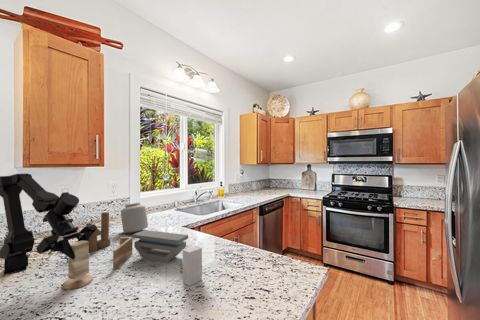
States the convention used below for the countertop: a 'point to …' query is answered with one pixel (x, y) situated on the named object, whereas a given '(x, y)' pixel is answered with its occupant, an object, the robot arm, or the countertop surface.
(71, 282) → the coaster
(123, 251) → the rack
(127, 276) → the countertop surface
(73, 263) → the pale wood block
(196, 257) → the skincare box
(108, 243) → the wooden block
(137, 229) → the jar
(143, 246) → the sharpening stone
